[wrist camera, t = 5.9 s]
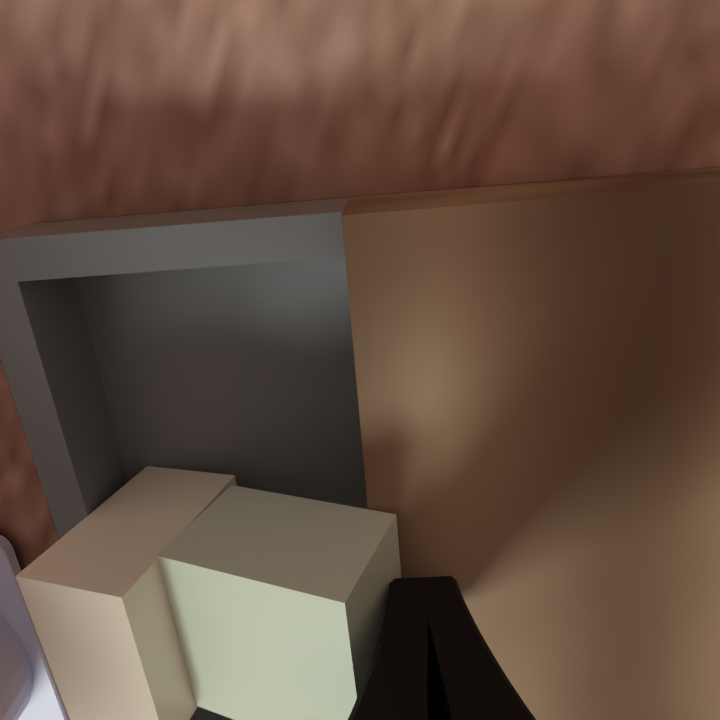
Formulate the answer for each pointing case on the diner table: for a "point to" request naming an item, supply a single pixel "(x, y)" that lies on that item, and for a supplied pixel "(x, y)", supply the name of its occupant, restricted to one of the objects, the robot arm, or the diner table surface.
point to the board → (554, 425)
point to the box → (184, 352)
